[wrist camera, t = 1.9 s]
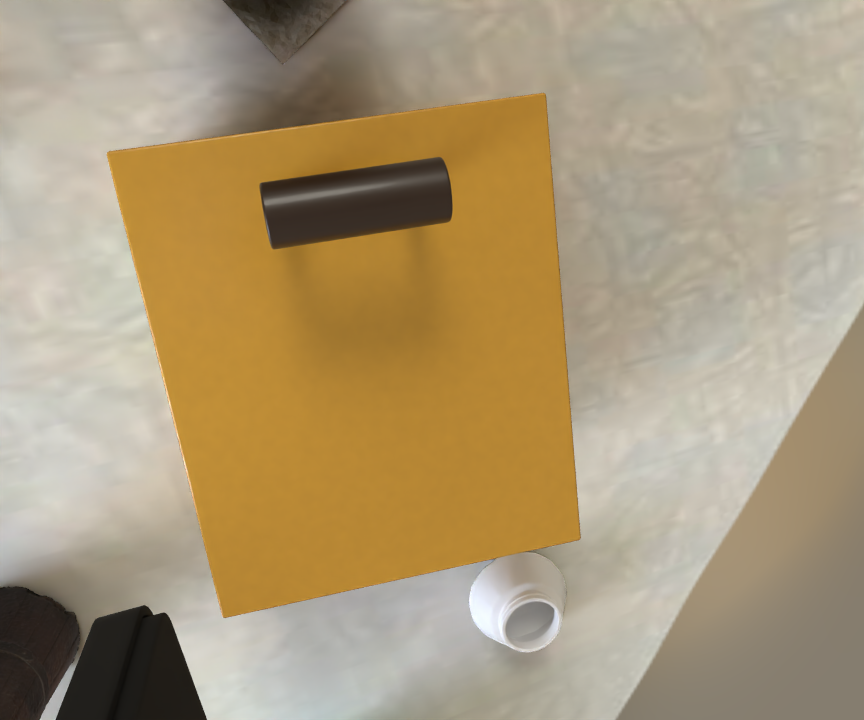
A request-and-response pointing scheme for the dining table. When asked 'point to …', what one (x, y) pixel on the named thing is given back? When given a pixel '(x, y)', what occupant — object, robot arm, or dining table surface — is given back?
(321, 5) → the condiment
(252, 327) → the lid
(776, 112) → the dining table surface
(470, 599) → the white jar
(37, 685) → the butter churn
